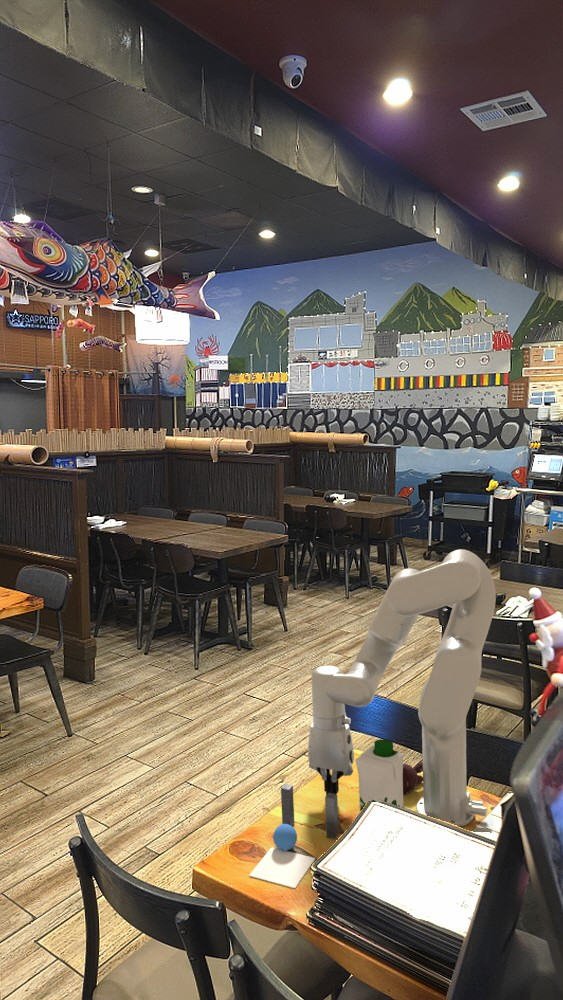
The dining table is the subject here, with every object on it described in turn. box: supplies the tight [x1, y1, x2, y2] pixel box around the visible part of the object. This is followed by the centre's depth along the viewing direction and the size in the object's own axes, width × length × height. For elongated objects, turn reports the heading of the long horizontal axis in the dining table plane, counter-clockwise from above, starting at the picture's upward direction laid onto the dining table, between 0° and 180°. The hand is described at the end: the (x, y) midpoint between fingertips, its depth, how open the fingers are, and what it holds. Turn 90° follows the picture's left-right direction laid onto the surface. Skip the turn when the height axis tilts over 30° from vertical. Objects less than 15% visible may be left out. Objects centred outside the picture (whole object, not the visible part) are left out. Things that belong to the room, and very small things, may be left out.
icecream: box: [403, 761, 423, 796], centre depth 167 cm, size 7×7×15 cm
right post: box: [324, 793, 340, 840], centre depth 150 cm, size 2×2×9 cm
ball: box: [272, 824, 298, 851], centre depth 146 cm, size 5×5×5 cm
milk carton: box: [354, 738, 405, 812], centre depth 148 cm, size 9×9×20 cm
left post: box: [280, 783, 295, 827], centre depth 154 cm, size 2×2×9 cm
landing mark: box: [248, 847, 316, 890], centre depth 140 cm, size 10×10×1 cm
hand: (331, 794), depth 164 cm, fingers closed
